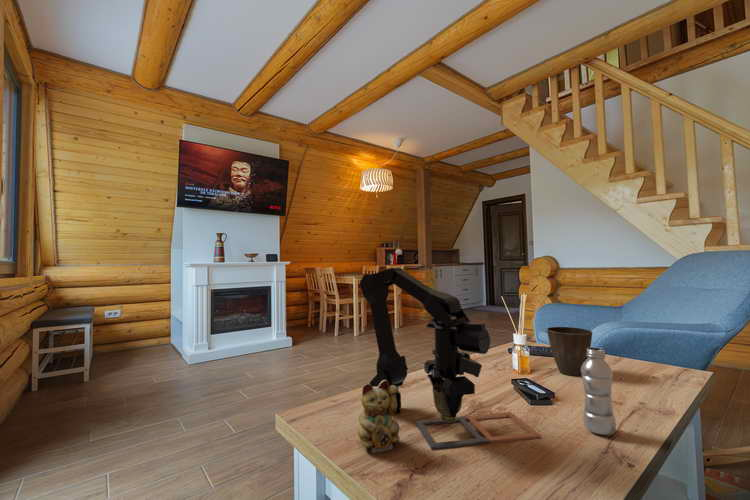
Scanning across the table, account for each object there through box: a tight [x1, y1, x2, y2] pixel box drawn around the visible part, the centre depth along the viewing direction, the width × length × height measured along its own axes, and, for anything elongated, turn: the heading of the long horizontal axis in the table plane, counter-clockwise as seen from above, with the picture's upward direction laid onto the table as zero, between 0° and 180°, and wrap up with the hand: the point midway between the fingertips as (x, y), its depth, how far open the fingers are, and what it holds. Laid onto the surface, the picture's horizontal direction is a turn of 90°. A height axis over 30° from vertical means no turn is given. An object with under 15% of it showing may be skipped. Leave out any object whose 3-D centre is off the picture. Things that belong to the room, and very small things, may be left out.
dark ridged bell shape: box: [432, 382, 463, 423], centre depth 83 cm, size 8×7×8 cm
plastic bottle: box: [581, 347, 617, 436], centre depth 83 cm, size 6×7×20 cm
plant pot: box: [546, 326, 593, 377], centre depth 127 cm, size 15×15×16 cm
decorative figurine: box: [357, 380, 401, 454], centre depth 78 cm, size 10×8×15 cm
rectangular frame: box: [415, 411, 542, 451], centre depth 84 cm, size 27×13×1 cm, turn 99°
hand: (447, 411), depth 83 cm, fingers closed on dark ridged bell shape, 6 cm apart
